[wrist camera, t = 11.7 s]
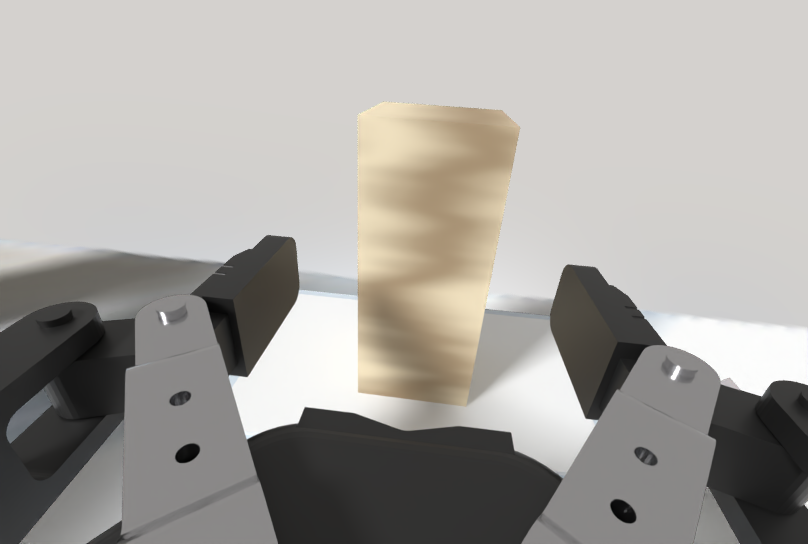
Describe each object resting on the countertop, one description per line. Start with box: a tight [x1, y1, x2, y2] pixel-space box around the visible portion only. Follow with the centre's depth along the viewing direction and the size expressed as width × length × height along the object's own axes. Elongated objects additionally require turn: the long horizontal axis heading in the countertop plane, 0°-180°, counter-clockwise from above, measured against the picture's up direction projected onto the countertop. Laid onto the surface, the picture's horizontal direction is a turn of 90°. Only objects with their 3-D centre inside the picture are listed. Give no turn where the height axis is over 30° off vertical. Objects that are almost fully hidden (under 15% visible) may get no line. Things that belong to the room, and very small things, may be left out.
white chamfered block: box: [229, 290, 598, 478], centre depth 21 cm, size 18×12×4 cm, turn 84°
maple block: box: [358, 102, 520, 407], centre depth 17 cm, size 5×5×12 cm
